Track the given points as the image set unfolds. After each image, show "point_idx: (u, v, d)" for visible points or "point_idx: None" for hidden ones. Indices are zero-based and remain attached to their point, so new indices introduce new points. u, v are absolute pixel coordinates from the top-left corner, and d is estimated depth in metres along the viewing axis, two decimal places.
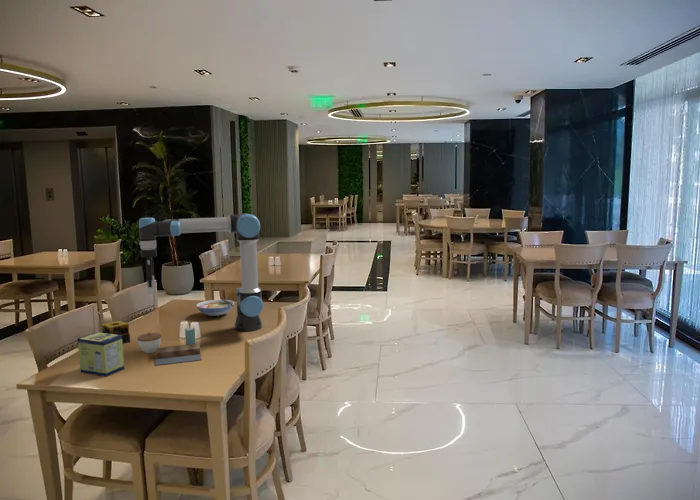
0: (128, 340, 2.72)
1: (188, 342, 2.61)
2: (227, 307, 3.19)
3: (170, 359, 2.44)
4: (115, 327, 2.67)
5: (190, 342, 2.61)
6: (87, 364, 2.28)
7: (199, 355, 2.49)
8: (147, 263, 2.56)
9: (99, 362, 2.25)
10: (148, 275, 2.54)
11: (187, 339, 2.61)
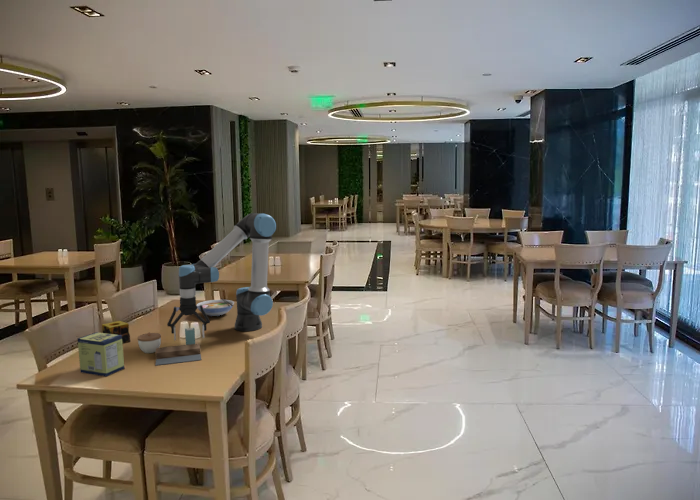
0: (128, 340, 2.72)
1: (188, 342, 2.61)
2: (227, 307, 3.19)
3: (170, 359, 2.44)
4: (115, 327, 2.67)
5: (190, 342, 2.61)
6: (87, 364, 2.28)
7: (199, 355, 2.49)
8: None
9: (99, 362, 2.25)
10: (168, 321, 2.59)
11: (187, 339, 2.61)
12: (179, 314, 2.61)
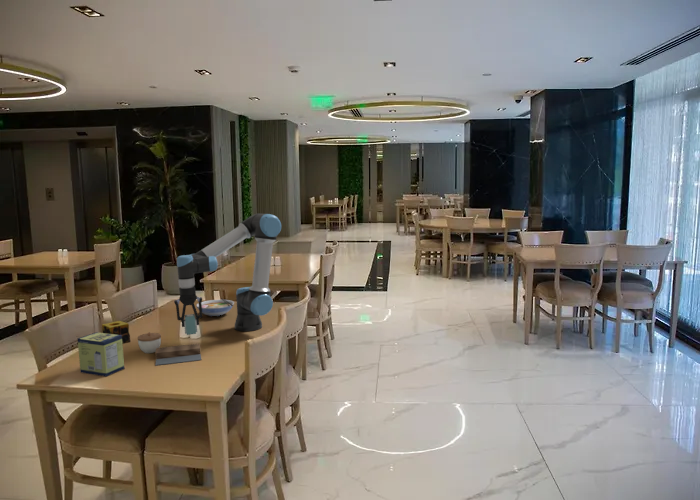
0: (128, 340, 2.72)
1: (188, 329, 2.60)
2: (227, 307, 3.19)
3: (170, 359, 2.44)
4: (115, 327, 2.67)
5: (190, 328, 2.61)
6: (87, 364, 2.28)
7: (199, 355, 2.49)
8: (175, 303, 2.59)
9: (99, 362, 2.25)
10: (177, 315, 2.60)
11: (187, 325, 2.60)
12: (183, 306, 2.61)
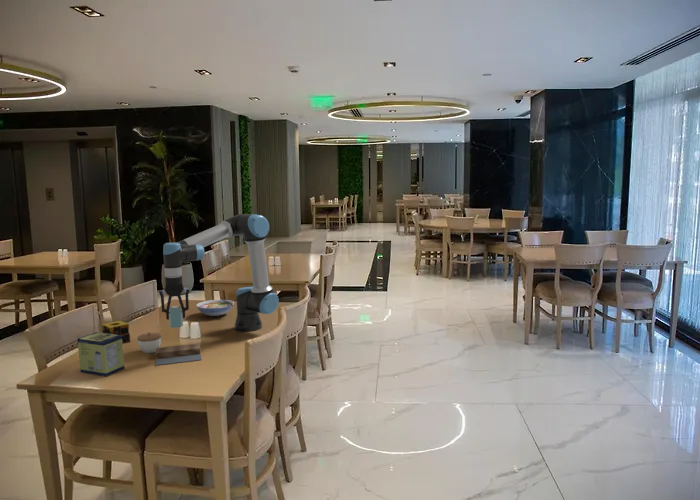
0: (128, 340, 2.72)
1: (173, 321, 2.43)
2: (227, 307, 3.19)
3: (170, 359, 2.44)
4: (115, 327, 2.67)
5: (175, 321, 2.43)
6: (87, 364, 2.28)
7: (199, 355, 2.49)
8: (160, 294, 2.42)
9: (99, 362, 2.25)
10: None
11: (172, 318, 2.42)
12: None
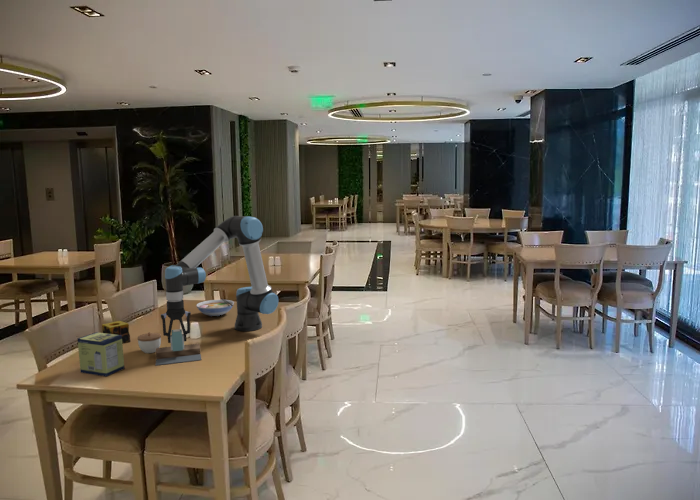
0: (128, 340, 2.72)
1: (175, 345, 2.44)
2: (227, 307, 3.19)
3: (170, 359, 2.44)
4: (115, 327, 2.67)
5: (177, 344, 2.45)
6: (87, 364, 2.28)
7: (199, 355, 2.49)
8: (161, 317, 2.44)
9: (99, 362, 2.25)
10: (163, 330, 2.44)
11: (174, 341, 2.44)
12: None
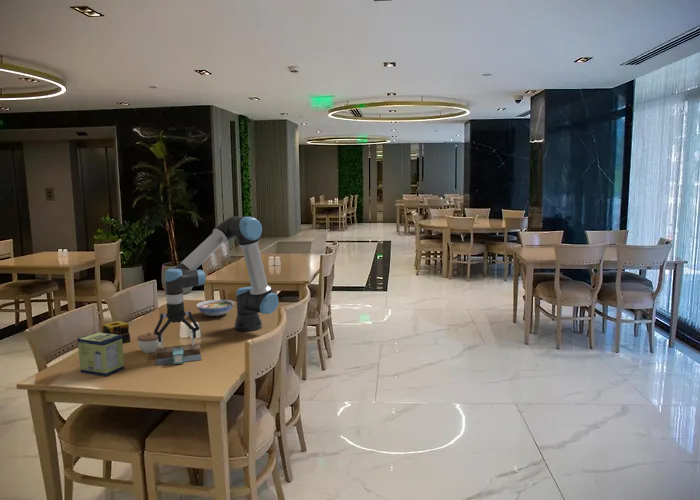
0: (128, 340, 2.72)
1: None
2: (227, 307, 3.19)
3: (170, 359, 2.44)
4: (115, 327, 2.67)
5: None
6: (87, 364, 2.28)
7: (199, 355, 2.49)
8: (160, 316, 2.43)
9: (99, 362, 2.25)
10: (155, 329, 2.43)
11: None
12: None
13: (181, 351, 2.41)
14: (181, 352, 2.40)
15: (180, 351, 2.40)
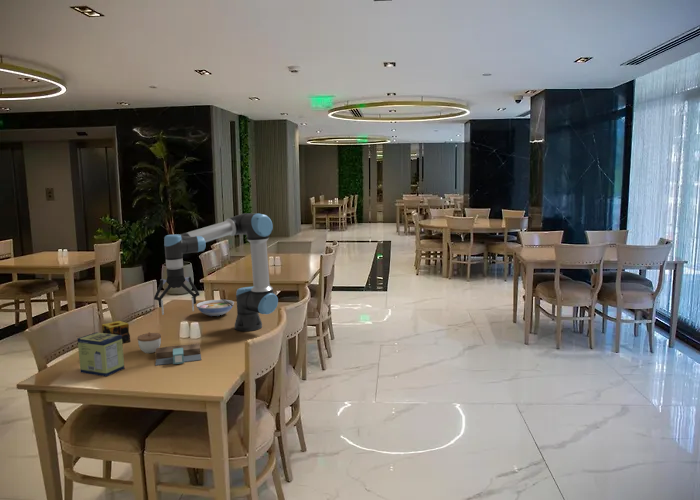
0: (128, 340, 2.72)
1: None
2: (227, 307, 3.19)
3: (170, 359, 2.44)
4: (115, 327, 2.67)
5: None
6: (87, 364, 2.28)
7: (199, 355, 2.49)
8: (160, 282, 2.44)
9: (99, 362, 2.25)
10: (155, 294, 2.44)
11: None
12: None
13: (181, 351, 2.41)
14: (181, 352, 2.40)
15: (180, 351, 2.40)
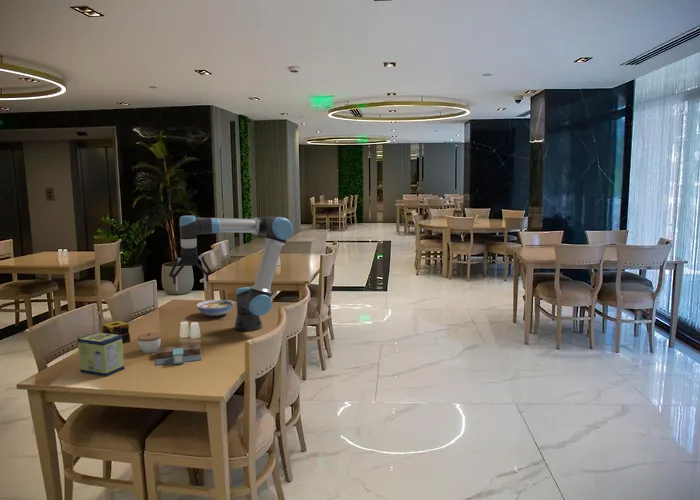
0: (128, 340, 2.72)
1: None
2: (227, 307, 3.19)
3: (170, 359, 2.44)
4: (115, 327, 2.67)
5: None
6: (87, 364, 2.28)
7: (199, 355, 2.49)
8: (175, 260, 2.59)
9: (99, 362, 2.25)
10: (170, 272, 2.58)
11: None
12: (181, 265, 2.61)
13: (181, 351, 2.41)
14: (181, 352, 2.40)
15: (180, 351, 2.40)
